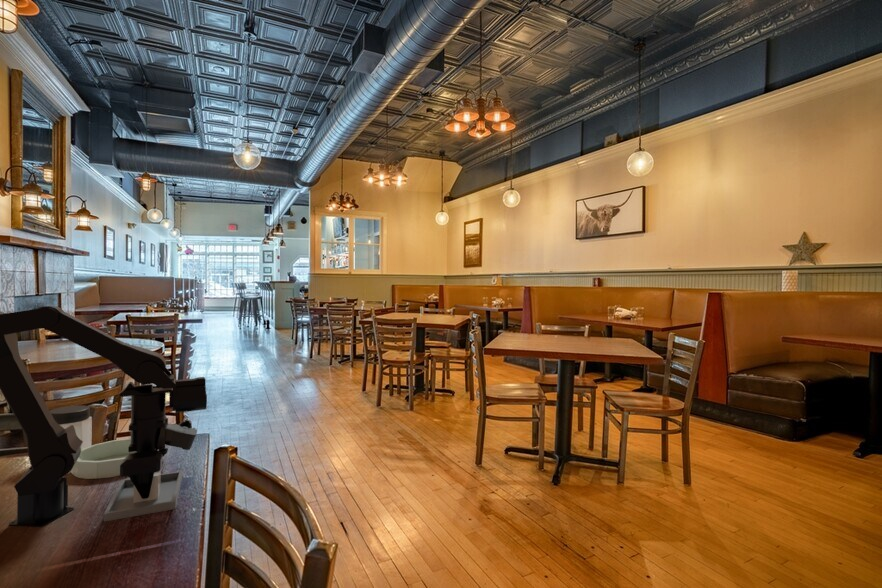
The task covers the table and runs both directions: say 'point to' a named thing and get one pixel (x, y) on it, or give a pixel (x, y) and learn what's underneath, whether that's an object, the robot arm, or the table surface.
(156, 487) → the block
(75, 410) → the lidded white canister
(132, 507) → the parts tray
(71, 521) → the table surface
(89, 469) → the bowl
